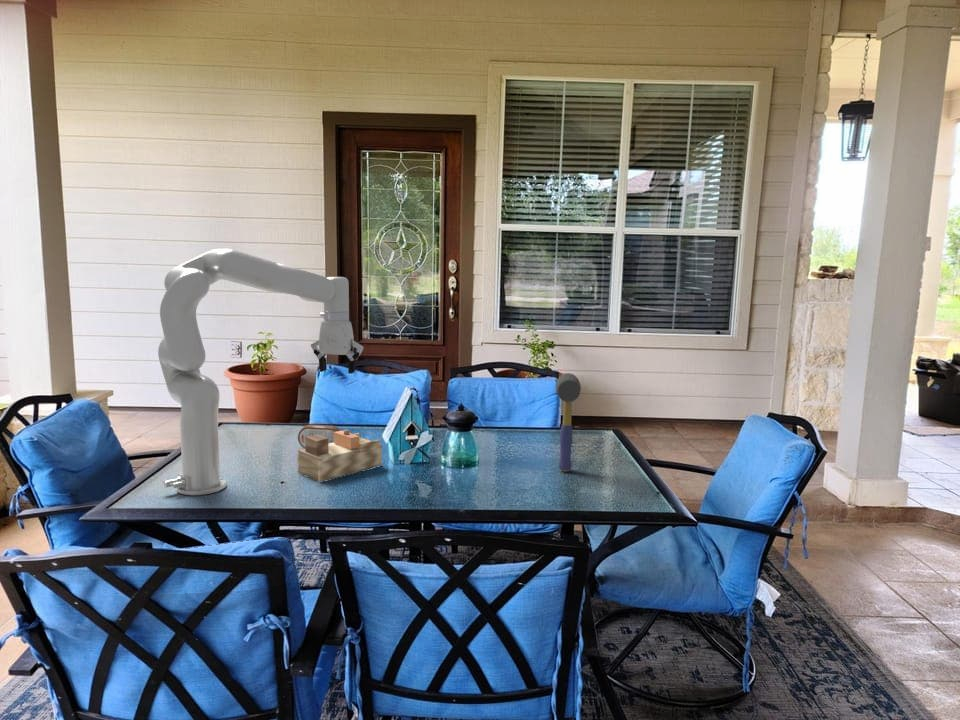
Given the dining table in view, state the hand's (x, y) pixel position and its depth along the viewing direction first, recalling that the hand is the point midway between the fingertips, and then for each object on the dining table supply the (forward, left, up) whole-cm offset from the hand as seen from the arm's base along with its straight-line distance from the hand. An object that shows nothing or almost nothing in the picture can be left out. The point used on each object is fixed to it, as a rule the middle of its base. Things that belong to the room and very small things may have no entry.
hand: (337, 372), depth 204 cm
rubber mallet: (+45, -56, -29) cm, 77 cm away
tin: (+2, +13, -29) cm, 32 cm away
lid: (-9, -9, -22) cm, 26 cm away
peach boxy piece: (-3, -9, -21) cm, 23 cm away
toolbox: (-5, -9, -28) cm, 30 cm away
